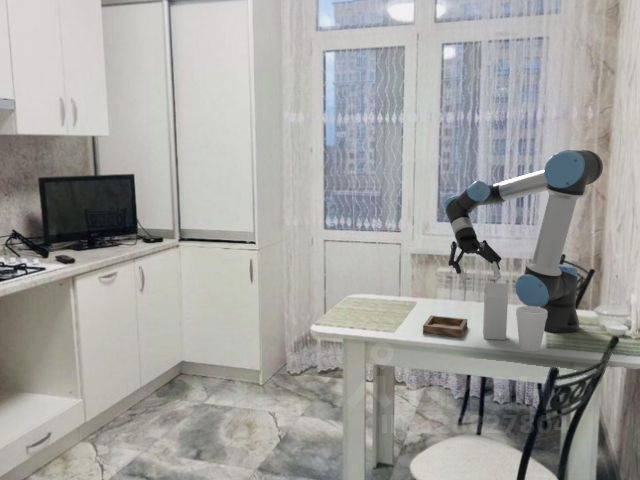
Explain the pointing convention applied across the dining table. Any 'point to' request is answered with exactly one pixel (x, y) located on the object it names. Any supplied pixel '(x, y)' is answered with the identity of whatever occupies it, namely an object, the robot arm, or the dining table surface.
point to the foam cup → (531, 327)
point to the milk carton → (495, 311)
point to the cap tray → (445, 326)
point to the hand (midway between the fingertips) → (481, 279)
